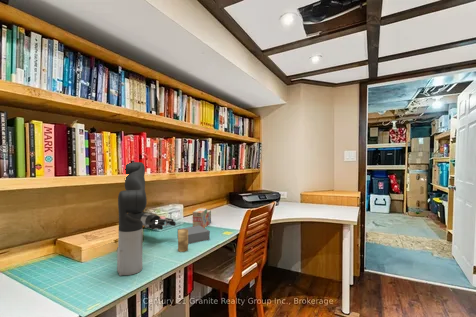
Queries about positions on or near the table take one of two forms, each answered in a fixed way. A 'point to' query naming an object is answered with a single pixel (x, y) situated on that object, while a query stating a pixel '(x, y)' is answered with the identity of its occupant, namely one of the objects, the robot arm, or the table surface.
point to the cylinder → (182, 240)
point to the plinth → (197, 234)
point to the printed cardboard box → (201, 217)
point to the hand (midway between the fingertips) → (168, 225)
